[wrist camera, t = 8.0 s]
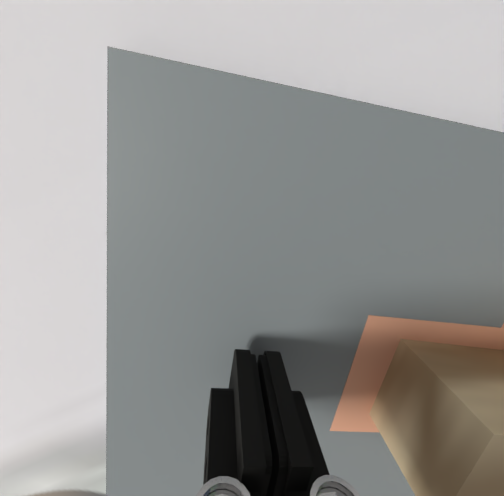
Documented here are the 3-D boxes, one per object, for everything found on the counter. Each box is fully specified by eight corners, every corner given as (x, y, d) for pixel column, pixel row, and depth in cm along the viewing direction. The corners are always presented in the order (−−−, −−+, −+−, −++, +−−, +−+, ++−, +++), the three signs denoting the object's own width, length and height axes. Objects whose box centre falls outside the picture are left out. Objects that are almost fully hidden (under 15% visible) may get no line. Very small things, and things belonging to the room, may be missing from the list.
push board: (118, 56, 8) (106, 45, 7) (714, 184, 11) (751, 186, 10) (112, 512, 14) (106, 534, 13) (500, 506, 17) (513, 523, 16)
